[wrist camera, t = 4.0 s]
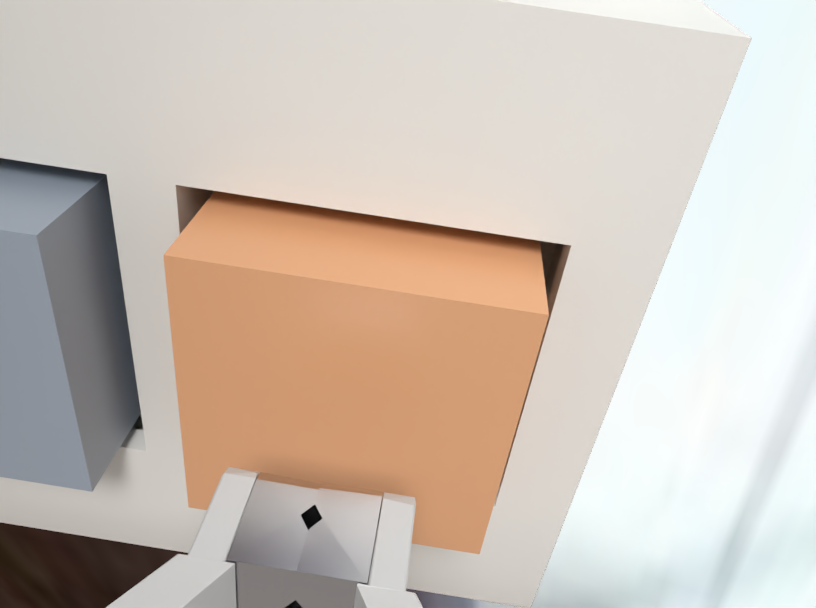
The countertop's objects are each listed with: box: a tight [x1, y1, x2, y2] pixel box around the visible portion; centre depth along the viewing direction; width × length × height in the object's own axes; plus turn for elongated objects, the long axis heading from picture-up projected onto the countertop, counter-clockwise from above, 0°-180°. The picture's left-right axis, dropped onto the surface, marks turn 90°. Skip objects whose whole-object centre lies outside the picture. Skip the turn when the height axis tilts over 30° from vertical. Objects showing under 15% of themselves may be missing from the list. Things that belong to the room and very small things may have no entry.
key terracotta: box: [163, 191, 549, 554], centre depth 13 cm, size 6×6×3 cm
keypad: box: [0, 0, 752, 608], centre depth 15 cm, size 14×26×4 cm, turn 83°
